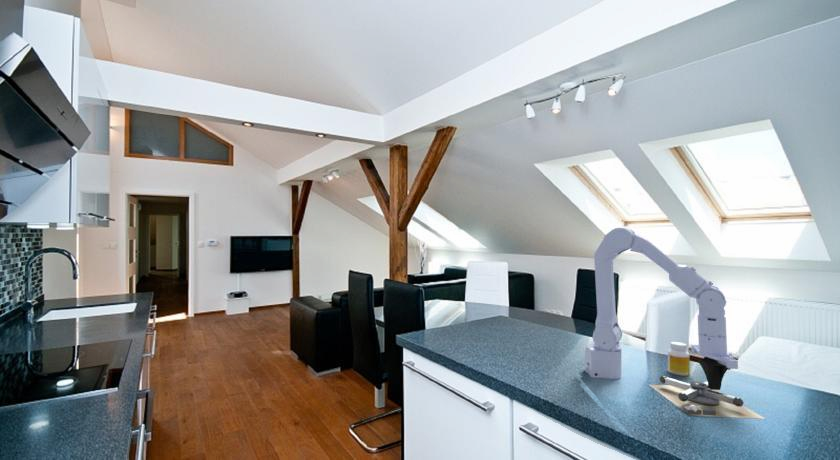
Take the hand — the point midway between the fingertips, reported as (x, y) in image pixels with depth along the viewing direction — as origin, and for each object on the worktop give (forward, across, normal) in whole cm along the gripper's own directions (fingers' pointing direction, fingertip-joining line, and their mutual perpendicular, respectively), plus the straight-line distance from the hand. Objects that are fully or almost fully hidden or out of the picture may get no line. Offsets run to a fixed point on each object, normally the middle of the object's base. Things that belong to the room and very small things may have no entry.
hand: (714, 389), depth 97 cm
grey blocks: (+2, -10, +10) cm, 14 cm away
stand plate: (+3, -3, +5) cm, 6 cm away
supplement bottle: (+3, +18, -1) cm, 18 cm away
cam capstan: (+2, -2, +5) cm, 5 cm away
